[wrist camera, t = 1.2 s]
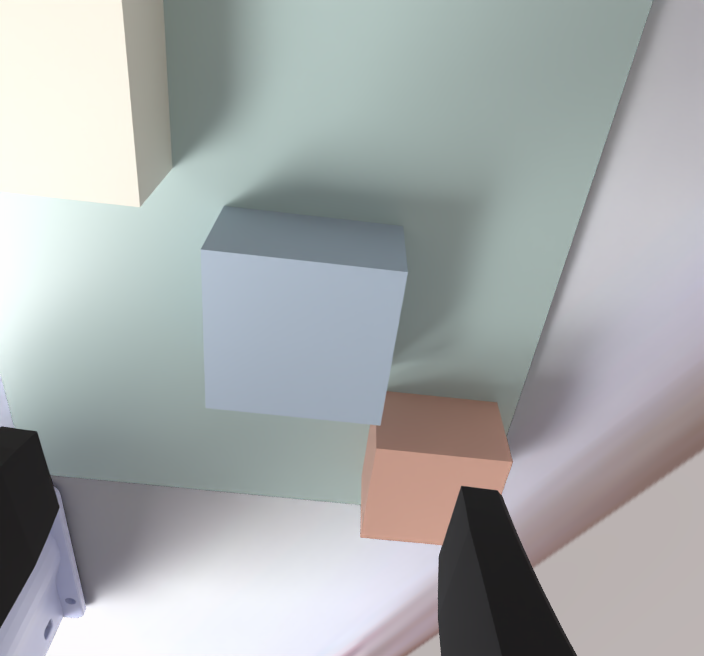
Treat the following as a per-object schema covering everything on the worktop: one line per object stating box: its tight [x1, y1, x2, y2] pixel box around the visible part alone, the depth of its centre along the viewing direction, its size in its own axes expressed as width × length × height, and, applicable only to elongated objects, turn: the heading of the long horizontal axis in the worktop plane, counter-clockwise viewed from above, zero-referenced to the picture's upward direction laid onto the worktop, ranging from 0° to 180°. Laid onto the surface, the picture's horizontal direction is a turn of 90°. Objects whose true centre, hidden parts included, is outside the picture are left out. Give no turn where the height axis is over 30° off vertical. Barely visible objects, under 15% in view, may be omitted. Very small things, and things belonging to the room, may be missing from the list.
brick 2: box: [201, 206, 408, 426], centre depth 19 cm, size 6×6×3 cm
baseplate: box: [0, 0, 653, 505], centre depth 20 cm, size 22×19×1 cm
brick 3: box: [360, 391, 513, 545], centre depth 22 cm, size 4×4×3 cm
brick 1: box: [0, 0, 172, 207], centre depth 15 cm, size 6×6×3 cm
